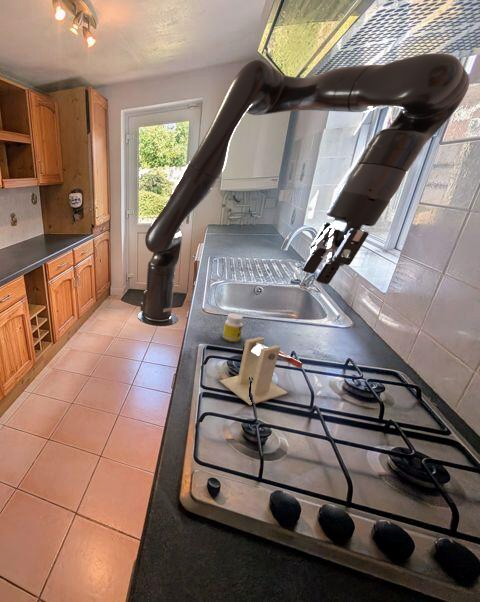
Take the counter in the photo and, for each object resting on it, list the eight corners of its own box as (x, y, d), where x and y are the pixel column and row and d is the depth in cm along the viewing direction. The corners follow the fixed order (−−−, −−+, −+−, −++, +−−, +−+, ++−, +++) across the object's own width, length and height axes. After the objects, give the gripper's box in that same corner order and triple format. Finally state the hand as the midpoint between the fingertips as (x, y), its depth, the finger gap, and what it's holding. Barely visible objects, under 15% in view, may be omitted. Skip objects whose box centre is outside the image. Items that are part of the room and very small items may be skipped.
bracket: (253, 374, 77) (264, 330, 72) (286, 396, 69) (300, 348, 64) (219, 384, 73) (227, 338, 69) (249, 408, 66) (261, 358, 61)
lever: (277, 358, 75) (282, 349, 74) (299, 370, 70) (304, 361, 69) (244, 348, 69) (249, 338, 69) (265, 360, 64) (271, 350, 64)
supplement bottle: (238, 346, 90) (243, 320, 87) (221, 342, 92) (225, 317, 89) (239, 339, 94) (244, 314, 91) (223, 335, 96) (227, 311, 93)
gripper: (326, 190, 61) (285, 263, 68) (359, 188, 49) (304, 279, 55) (368, 200, 59) (321, 275, 66) (413, 201, 47) (349, 293, 54)
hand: (313, 277), depth 61 cm, fingers open, 8 cm apart
